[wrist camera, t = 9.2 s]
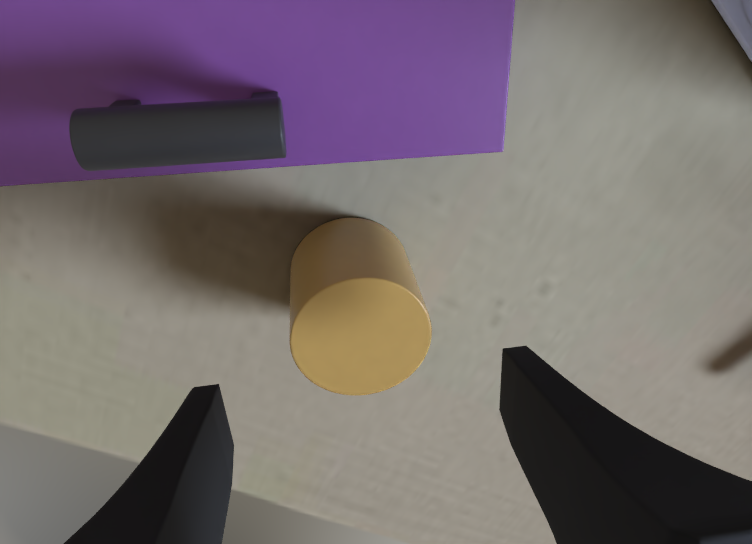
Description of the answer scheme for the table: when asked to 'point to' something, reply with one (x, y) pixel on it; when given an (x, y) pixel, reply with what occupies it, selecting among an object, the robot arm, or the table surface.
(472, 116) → the cover
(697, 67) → the table surface
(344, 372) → the cylinder
